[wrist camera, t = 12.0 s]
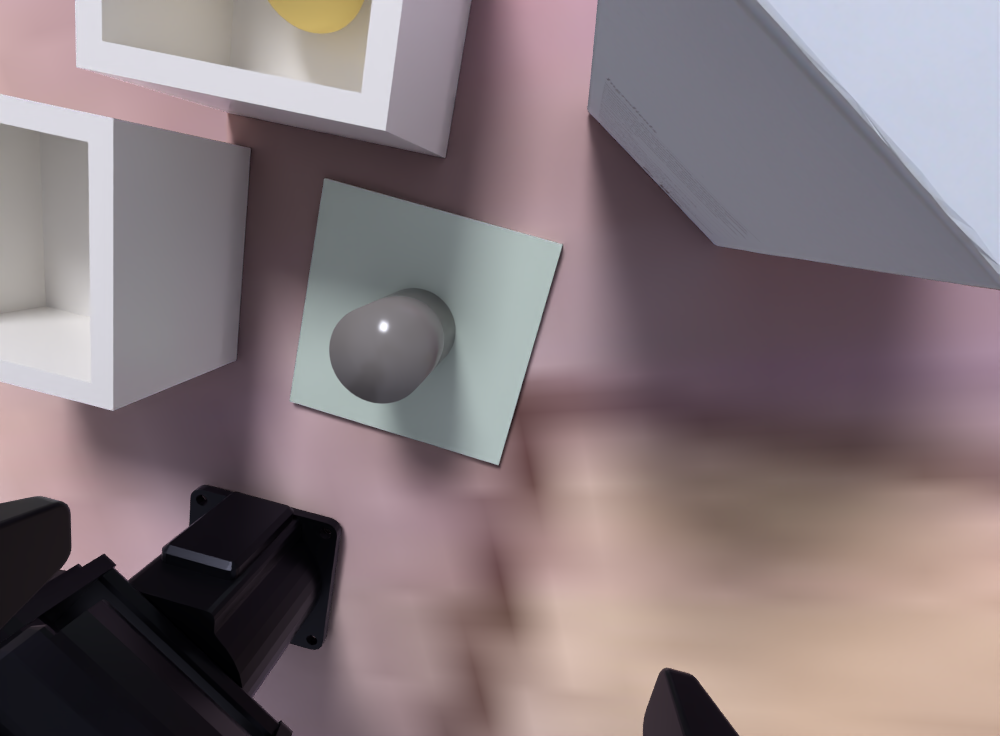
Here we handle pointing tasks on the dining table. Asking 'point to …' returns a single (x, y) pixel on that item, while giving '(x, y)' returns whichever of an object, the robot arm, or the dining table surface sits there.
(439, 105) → the pot
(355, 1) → the ball
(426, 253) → the lid
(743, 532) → the dining table surface
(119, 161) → the pot
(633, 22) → the small box
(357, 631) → the dining table surface
